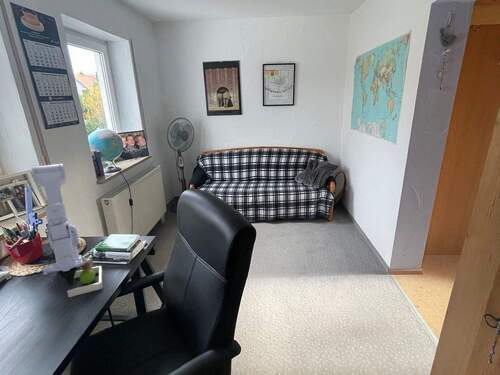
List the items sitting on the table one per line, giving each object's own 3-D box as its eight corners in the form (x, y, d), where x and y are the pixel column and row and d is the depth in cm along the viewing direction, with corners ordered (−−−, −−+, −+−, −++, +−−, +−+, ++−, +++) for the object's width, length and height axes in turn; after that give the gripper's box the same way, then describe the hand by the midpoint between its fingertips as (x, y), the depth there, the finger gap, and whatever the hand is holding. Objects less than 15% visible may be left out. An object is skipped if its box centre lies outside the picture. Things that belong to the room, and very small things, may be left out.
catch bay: (72, 277, 108) (70, 272, 107) (102, 270, 112) (101, 265, 112) (68, 297, 97) (67, 291, 96) (102, 288, 102) (101, 282, 101)
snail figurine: (91, 288, 102) (85, 261, 98) (77, 285, 103) (71, 258, 99) (101, 279, 107) (96, 253, 103) (88, 276, 108) (82, 251, 105)
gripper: (37, 264, 91) (46, 296, 96) (86, 254, 98) (93, 284, 102) (41, 254, 97) (49, 285, 102) (87, 245, 104) (93, 274, 108)
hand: (71, 284), depth 102 cm, fingers closed
